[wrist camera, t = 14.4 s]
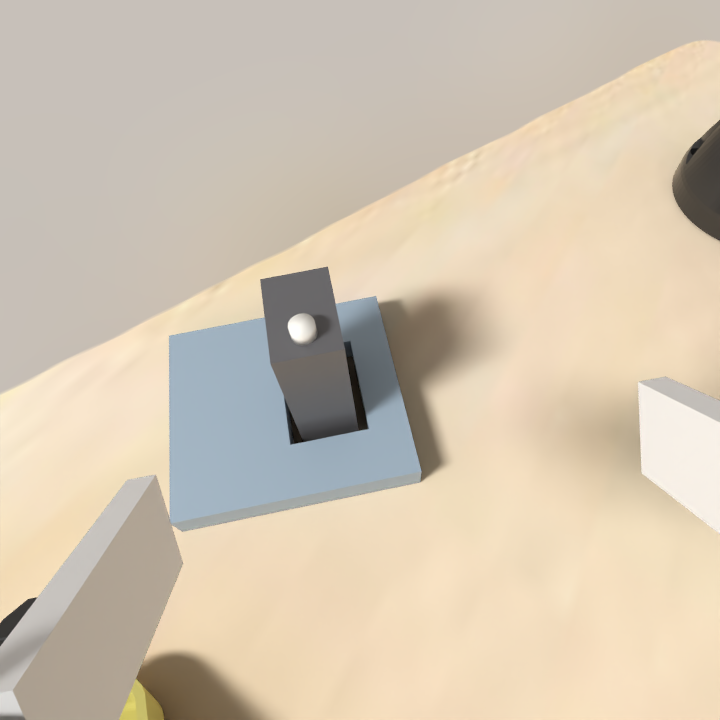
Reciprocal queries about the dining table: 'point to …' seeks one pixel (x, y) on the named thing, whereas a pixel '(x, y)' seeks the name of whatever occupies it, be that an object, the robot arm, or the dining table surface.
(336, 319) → the servo block
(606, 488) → the dining table surface
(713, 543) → the dining table surface
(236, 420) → the plate
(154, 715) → the plastic component
